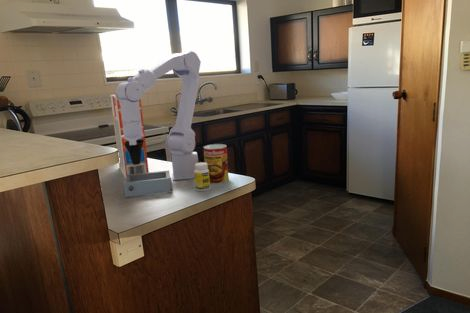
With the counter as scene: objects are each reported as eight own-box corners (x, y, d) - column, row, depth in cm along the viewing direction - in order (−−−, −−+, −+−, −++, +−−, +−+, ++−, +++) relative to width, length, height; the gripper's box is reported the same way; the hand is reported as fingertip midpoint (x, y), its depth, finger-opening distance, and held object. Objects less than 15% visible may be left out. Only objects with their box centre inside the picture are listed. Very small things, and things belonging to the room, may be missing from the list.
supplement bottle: (204, 192, 118) (202, 166, 116) (192, 190, 121) (190, 164, 119) (213, 187, 122) (211, 162, 120) (201, 186, 124) (199, 161, 123)
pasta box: (149, 177, 138) (140, 95, 132) (126, 181, 135) (116, 97, 129) (139, 164, 159) (130, 93, 152) (119, 167, 156) (110, 94, 149)
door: (172, 190, 120) (171, 177, 119) (172, 192, 118) (171, 178, 117) (125, 196, 117) (123, 182, 116) (125, 197, 116) (123, 183, 115)
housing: (170, 182, 130) (169, 170, 129) (171, 191, 121) (170, 177, 120) (128, 187, 127) (127, 174, 126) (126, 196, 118) (124, 182, 117)
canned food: (202, 183, 127) (200, 148, 125) (210, 176, 135) (207, 144, 132) (224, 183, 125) (222, 148, 123) (231, 177, 133) (229, 143, 130)
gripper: (120, 119, 124) (125, 159, 127) (116, 125, 110) (122, 169, 113) (142, 117, 125) (146, 157, 128) (141, 123, 111) (146, 167, 114)
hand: (136, 163), depth 121 cm, fingers open, 3 cm apart
